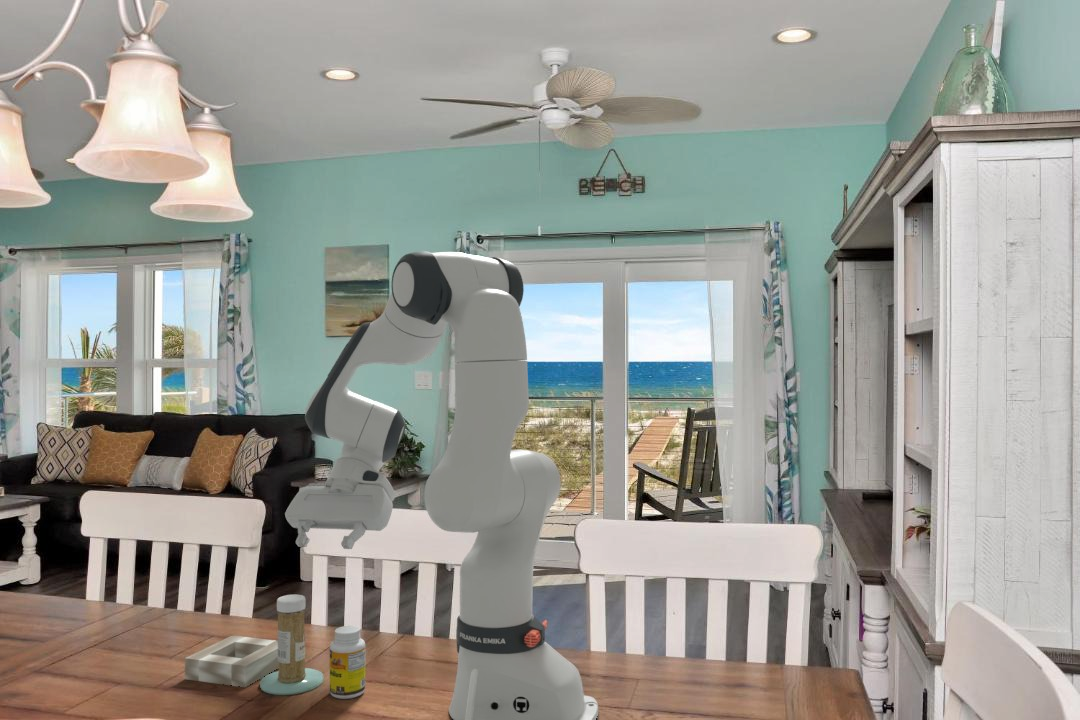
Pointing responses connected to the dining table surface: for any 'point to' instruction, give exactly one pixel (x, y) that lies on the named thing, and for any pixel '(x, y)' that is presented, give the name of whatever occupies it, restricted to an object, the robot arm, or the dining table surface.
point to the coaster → (279, 688)
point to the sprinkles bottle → (291, 638)
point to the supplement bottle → (347, 663)
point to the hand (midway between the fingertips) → (323, 546)
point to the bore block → (233, 661)
